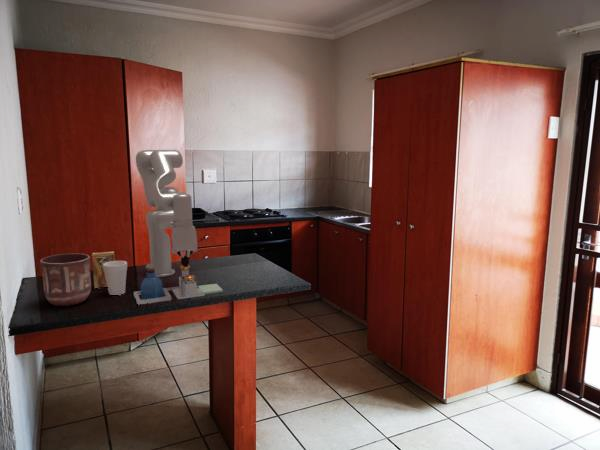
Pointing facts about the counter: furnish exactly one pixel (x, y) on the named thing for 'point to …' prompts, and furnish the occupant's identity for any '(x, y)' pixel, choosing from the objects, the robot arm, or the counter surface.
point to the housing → (179, 292)
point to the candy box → (100, 267)
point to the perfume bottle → (151, 286)
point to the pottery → (66, 278)
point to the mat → (209, 288)
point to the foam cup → (115, 276)
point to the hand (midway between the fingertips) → (185, 266)
